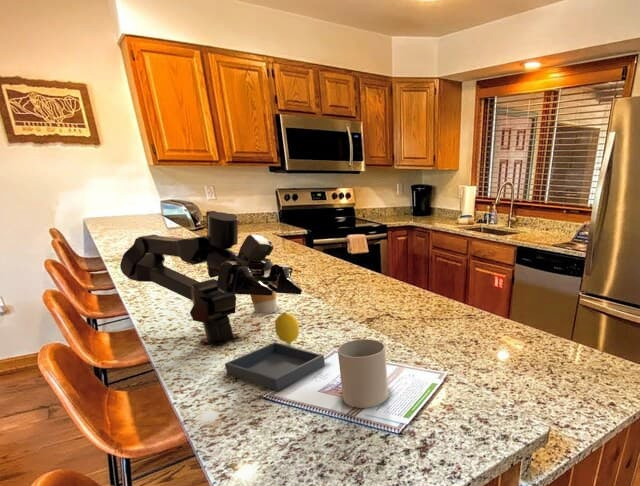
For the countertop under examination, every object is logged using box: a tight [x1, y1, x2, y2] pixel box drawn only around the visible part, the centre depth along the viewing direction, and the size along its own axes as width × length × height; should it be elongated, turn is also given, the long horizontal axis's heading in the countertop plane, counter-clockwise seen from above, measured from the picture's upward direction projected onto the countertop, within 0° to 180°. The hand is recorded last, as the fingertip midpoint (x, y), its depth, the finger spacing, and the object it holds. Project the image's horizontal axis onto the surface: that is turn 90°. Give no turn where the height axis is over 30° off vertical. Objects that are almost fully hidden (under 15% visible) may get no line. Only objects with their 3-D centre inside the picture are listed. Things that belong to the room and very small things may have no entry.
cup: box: [337, 338, 389, 409], centre depth 78 cm, size 8×8×10 cm
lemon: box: [274, 311, 300, 344], centre depth 103 cm, size 6×6×8 cm
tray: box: [224, 342, 326, 392], centre depth 91 cm, size 15×13×2 cm
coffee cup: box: [249, 257, 278, 315], centre depth 125 cm, size 8×8×15 cm
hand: (287, 292), depth 91 cm, fingers open, 9 cm apart
